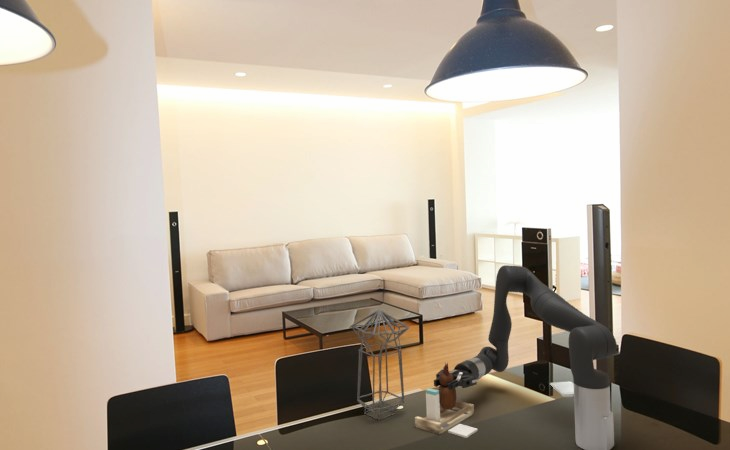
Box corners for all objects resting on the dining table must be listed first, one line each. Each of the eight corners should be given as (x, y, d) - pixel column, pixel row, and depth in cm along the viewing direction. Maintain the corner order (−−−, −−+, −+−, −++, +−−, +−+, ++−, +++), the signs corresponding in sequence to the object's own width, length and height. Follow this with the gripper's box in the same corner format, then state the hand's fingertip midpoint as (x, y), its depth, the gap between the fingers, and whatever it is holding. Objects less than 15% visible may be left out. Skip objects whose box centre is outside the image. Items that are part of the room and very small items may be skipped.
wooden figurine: (456, 411, 163) (454, 364, 162) (438, 411, 164) (435, 364, 163) (457, 403, 169) (454, 358, 169) (439, 403, 170) (437, 358, 170)
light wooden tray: (474, 413, 170) (473, 404, 170) (439, 434, 155) (438, 424, 155) (450, 407, 176) (450, 398, 176) (415, 427, 161) (414, 417, 161)
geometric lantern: (384, 401, 184) (382, 304, 183) (413, 415, 171) (412, 310, 170) (348, 412, 175) (346, 310, 174) (376, 428, 162) (374, 317, 161)
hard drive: (549, 382, 193) (563, 394, 181) (571, 381, 193) (586, 392, 181) (550, 386, 193) (563, 398, 181) (571, 385, 193) (586, 397, 181)
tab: (440, 422, 160) (438, 390, 160) (436, 424, 159) (435, 392, 158) (430, 419, 163) (429, 388, 162) (427, 421, 161) (425, 390, 161)
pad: (477, 430, 156) (477, 428, 156) (466, 438, 152) (466, 436, 152) (459, 425, 161) (459, 423, 161) (448, 432, 156) (447, 430, 156)
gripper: (451, 356, 182) (423, 369, 169) (488, 363, 172) (460, 377, 159) (452, 378, 182) (424, 392, 169) (489, 385, 172) (462, 401, 160)
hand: (442, 385), depth 164 cm, fingers closed on wooden figurine, 4 cm apart
